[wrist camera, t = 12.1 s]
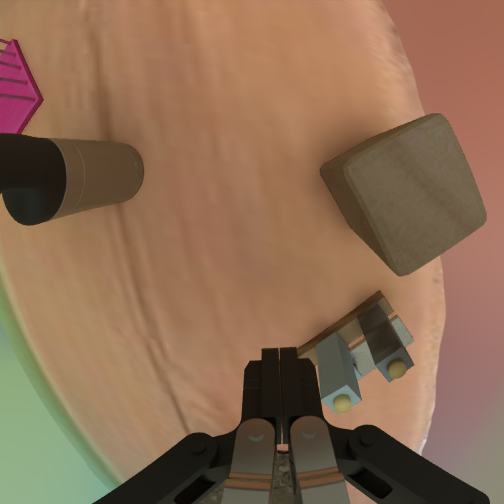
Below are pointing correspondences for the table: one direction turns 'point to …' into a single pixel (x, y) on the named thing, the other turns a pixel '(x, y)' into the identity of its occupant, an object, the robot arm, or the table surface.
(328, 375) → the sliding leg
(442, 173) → the block
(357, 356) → the grey flat plate
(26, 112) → the file sorter
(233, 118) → the table surface
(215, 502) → the concrete block
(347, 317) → the dark grey l-shaped piece
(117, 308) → the table surface
